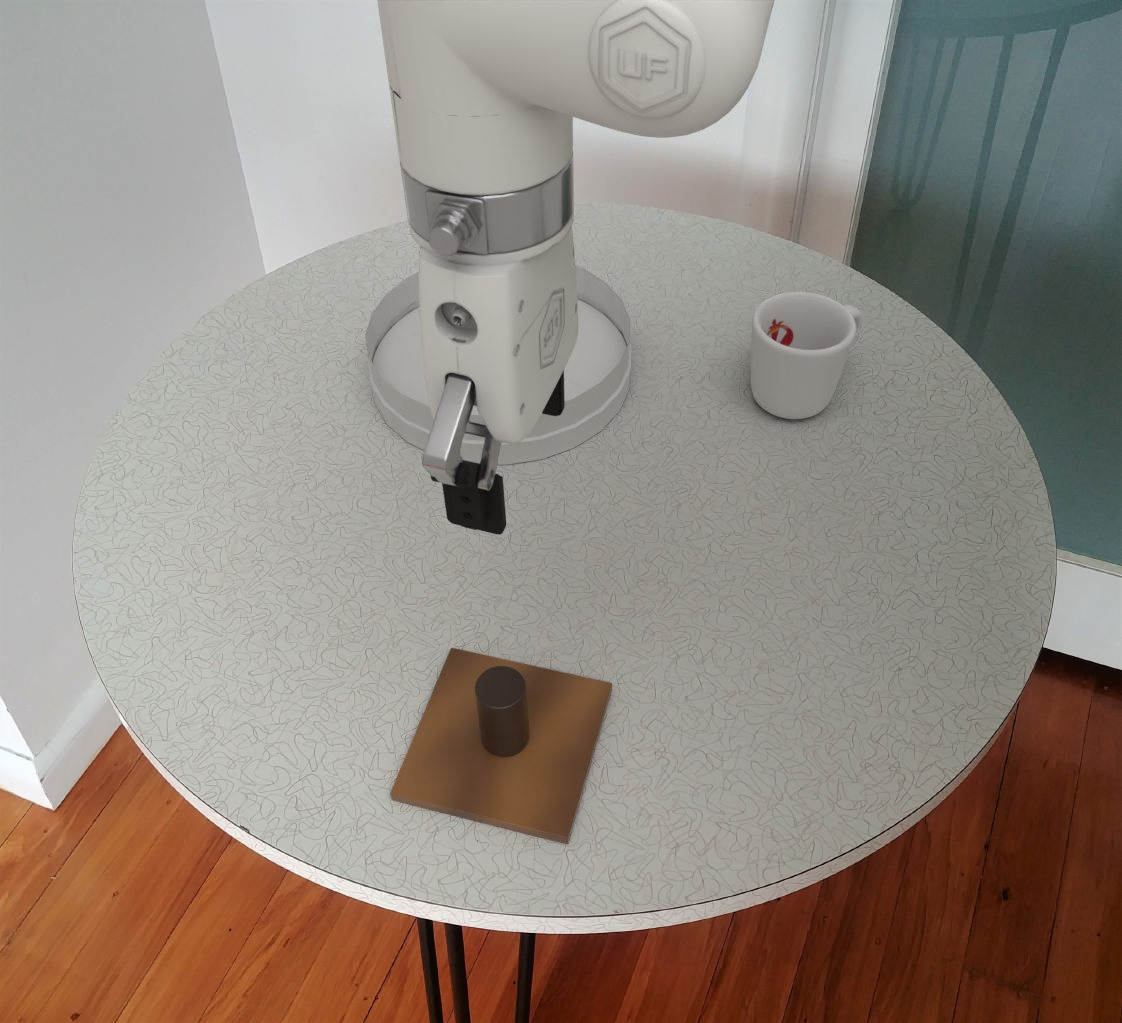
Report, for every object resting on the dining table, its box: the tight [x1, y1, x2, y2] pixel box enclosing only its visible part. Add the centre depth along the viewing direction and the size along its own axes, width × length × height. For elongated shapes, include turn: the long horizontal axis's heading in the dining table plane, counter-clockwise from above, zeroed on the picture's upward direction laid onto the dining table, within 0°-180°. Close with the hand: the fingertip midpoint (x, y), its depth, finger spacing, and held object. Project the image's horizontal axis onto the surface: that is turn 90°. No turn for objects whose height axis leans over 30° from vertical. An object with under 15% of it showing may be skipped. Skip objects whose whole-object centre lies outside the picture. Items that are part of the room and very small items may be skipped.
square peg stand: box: [389, 647, 613, 845], centre depth 64 cm, size 11×11×6 cm
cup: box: [750, 291, 864, 420], centre depth 85 cm, size 11×8×8 cm
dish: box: [365, 264, 633, 466], centre depth 89 cm, size 22×22×5 cm
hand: (509, 464), depth 60 cm, fingers open, 9 cm apart
